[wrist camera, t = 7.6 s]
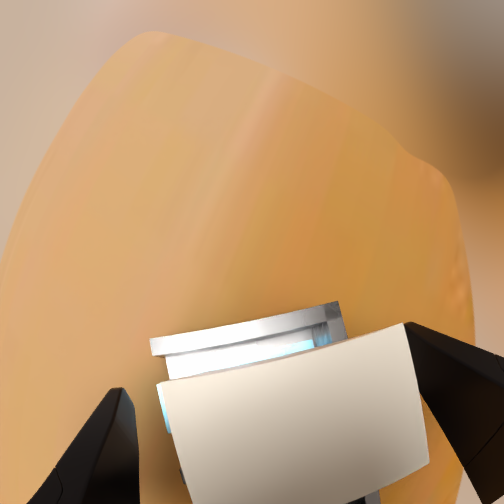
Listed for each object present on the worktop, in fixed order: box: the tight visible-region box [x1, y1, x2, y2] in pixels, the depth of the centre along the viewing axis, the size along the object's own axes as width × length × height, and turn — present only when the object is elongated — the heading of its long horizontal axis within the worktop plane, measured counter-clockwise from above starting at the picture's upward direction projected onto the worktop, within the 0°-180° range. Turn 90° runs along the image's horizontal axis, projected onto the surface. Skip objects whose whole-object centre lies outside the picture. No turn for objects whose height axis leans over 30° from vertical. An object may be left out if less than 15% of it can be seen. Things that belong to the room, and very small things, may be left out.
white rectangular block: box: [160, 323, 429, 504], centre depth 10 cm, size 4×5×11 cm
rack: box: [150, 301, 381, 504], centre depth 12 cm, size 20×10×5 cm, turn 12°
